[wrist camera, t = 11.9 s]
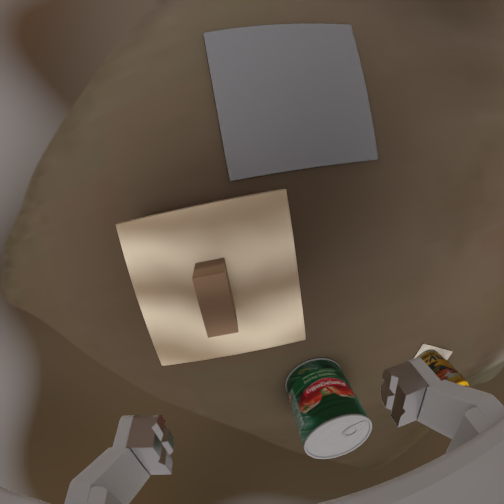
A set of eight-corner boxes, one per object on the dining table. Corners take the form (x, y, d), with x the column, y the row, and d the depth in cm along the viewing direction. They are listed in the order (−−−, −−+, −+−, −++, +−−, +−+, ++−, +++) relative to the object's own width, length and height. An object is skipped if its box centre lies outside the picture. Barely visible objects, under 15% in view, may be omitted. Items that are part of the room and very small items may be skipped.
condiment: (422, 343, 39) (467, 389, 28) (452, 351, 41) (494, 391, 29) (397, 381, 41) (434, 432, 29) (428, 385, 42) (464, 429, 31)
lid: (118, 222, 24) (100, 234, 20) (284, 188, 25) (296, 194, 21) (163, 361, 28) (156, 389, 24) (303, 335, 29) (315, 360, 25)
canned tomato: (302, 408, 40) (322, 466, 29) (273, 379, 37) (290, 442, 27) (350, 380, 39) (380, 434, 28) (326, 346, 37) (358, 404, 26)
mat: (203, 35, 25) (203, 33, 25) (348, 26, 26) (350, 24, 25) (229, 180, 30) (230, 181, 29) (375, 159, 31) (378, 159, 30)
